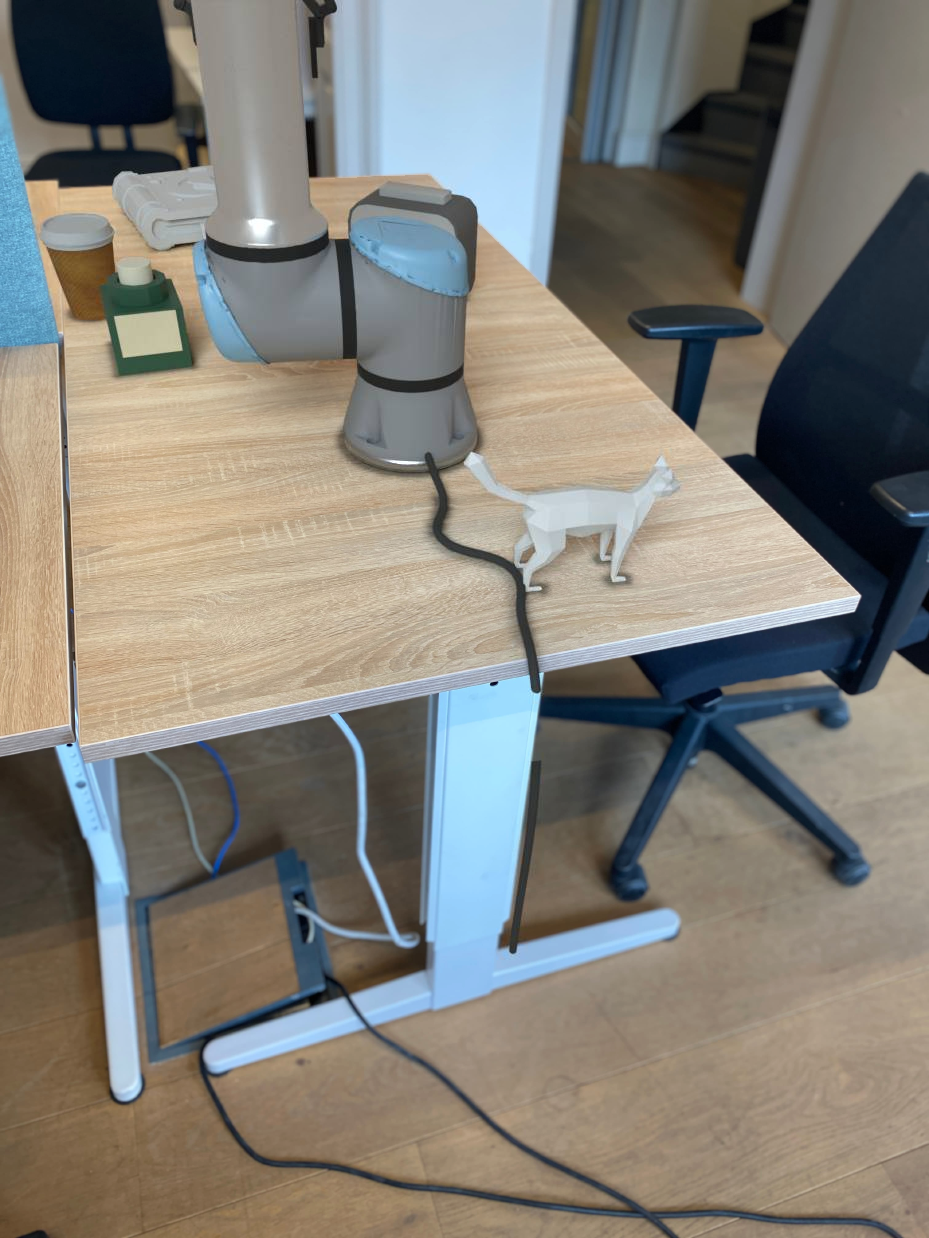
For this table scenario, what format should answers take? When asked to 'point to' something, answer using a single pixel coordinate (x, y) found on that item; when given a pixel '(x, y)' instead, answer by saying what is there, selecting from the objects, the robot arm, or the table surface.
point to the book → (168, 204)
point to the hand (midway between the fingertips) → (263, 76)
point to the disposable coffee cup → (81, 259)
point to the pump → (134, 271)
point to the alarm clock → (425, 213)
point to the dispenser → (144, 301)
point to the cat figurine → (578, 514)
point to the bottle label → (148, 333)
